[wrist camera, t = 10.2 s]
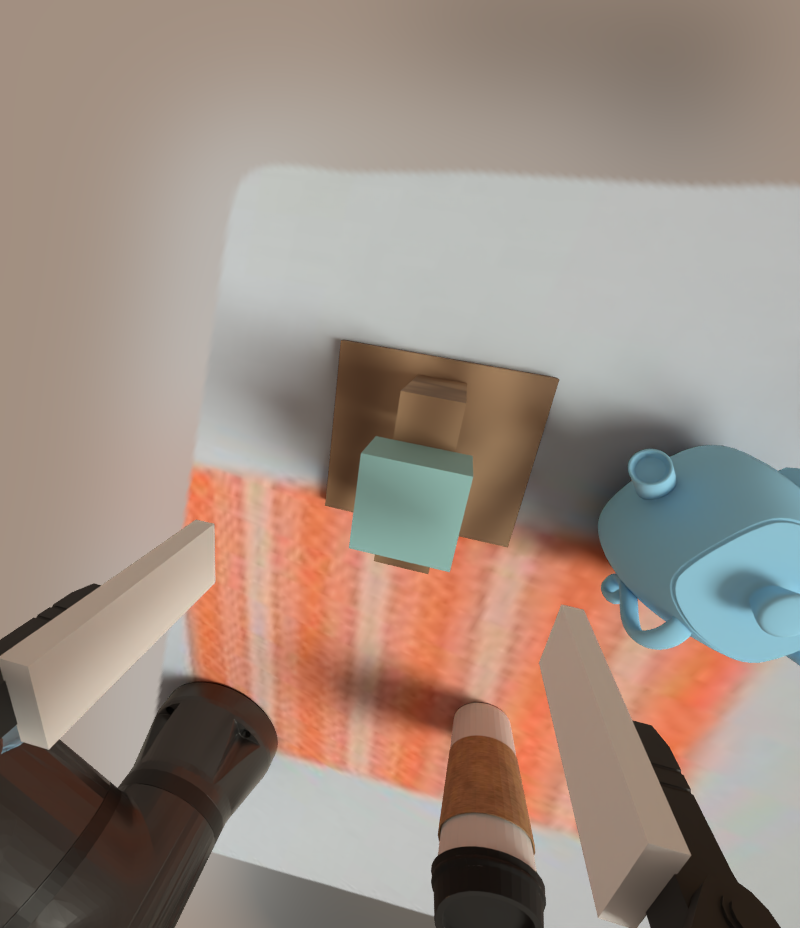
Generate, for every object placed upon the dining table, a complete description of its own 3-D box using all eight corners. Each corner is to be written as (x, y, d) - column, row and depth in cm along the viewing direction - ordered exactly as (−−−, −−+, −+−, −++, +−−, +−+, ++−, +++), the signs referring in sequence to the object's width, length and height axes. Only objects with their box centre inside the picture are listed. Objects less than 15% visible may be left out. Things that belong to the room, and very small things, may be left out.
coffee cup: (427, 724, 41) (406, 924, 28) (470, 680, 38) (470, 880, 24) (492, 761, 42) (503, 978, 28) (540, 721, 38) (580, 943, 25)
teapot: (830, 435, 26) (1079, 510, 15) (754, 599, 30) (905, 742, 20) (592, 416, 28) (665, 470, 17) (556, 572, 33) (597, 687, 22)
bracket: (329, 500, 34) (283, 556, 26) (344, 340, 29) (294, 344, 21) (506, 541, 32) (519, 614, 24) (556, 377, 27) (594, 399, 19)
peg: (386, 479, 30) (349, 548, 21) (397, 411, 28) (360, 453, 19) (455, 494, 30) (449, 572, 20) (471, 425, 28) (473, 476, 18)
